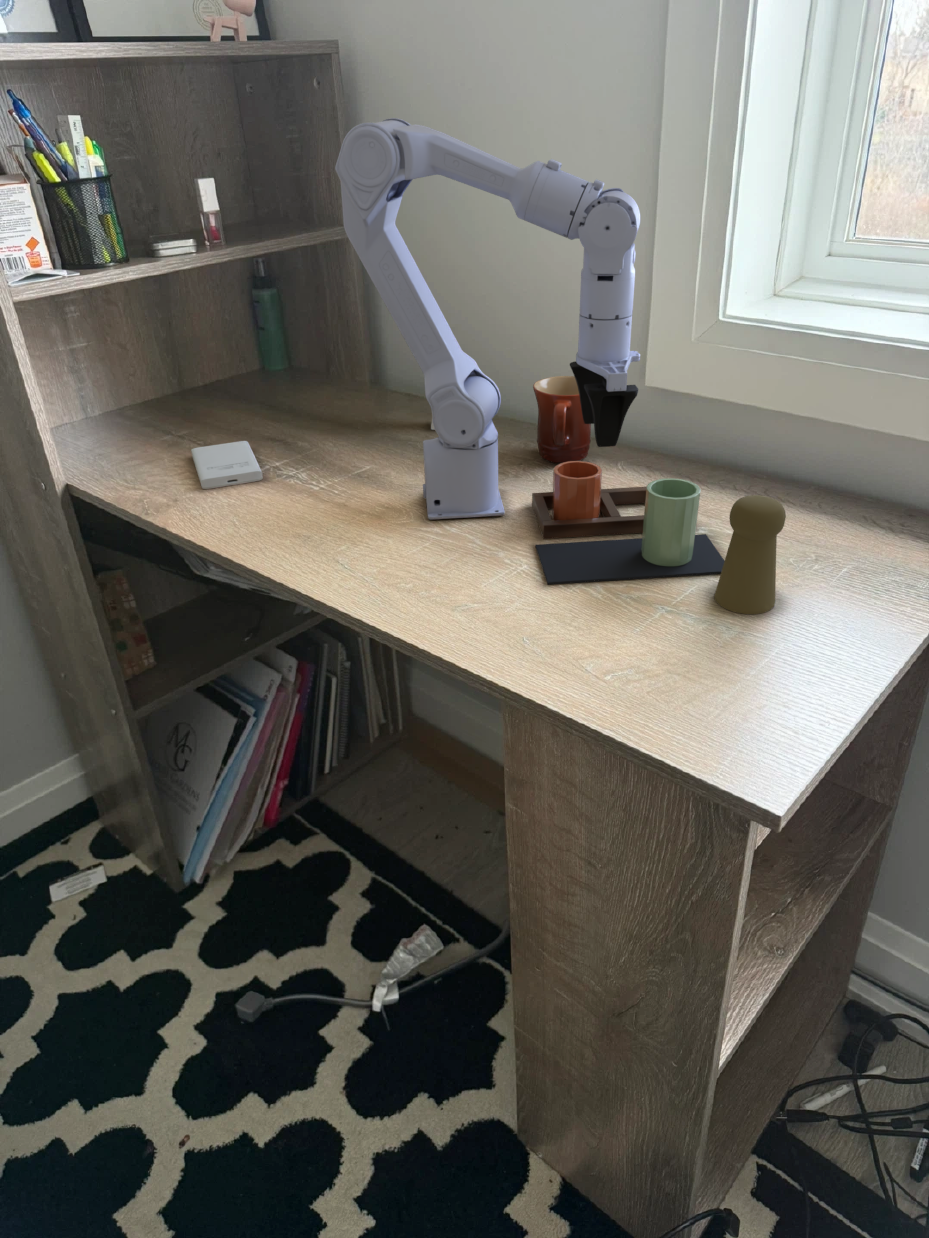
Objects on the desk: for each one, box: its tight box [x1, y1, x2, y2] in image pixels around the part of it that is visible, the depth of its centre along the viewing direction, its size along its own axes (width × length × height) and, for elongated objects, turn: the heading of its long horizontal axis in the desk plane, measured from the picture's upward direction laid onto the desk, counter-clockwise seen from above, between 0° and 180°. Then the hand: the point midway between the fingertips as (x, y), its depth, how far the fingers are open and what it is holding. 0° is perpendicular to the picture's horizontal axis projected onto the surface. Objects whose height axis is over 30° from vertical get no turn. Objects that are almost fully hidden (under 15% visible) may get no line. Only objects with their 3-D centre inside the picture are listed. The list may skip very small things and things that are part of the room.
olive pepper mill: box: [713, 494, 787, 615], centre depth 89 cm, size 6×6×11 cm
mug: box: [532, 375, 592, 465], centre depth 123 cm, size 12×9×10 cm
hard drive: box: [190, 440, 264, 490], centre depth 126 cm, size 2×8×12 cm
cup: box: [641, 477, 702, 566], centre depth 98 cm, size 6×6×8 cm
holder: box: [531, 486, 647, 540], centre depth 109 cm, size 18×9×2 cm, turn 94°
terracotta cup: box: [551, 460, 603, 521], centre depth 107 cm, size 6×6×6 cm
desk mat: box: [535, 533, 725, 586], centre depth 100 cm, size 20×9×1 cm, turn 94°
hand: (599, 434), depth 105 cm, fingers open, 7 cm apart
